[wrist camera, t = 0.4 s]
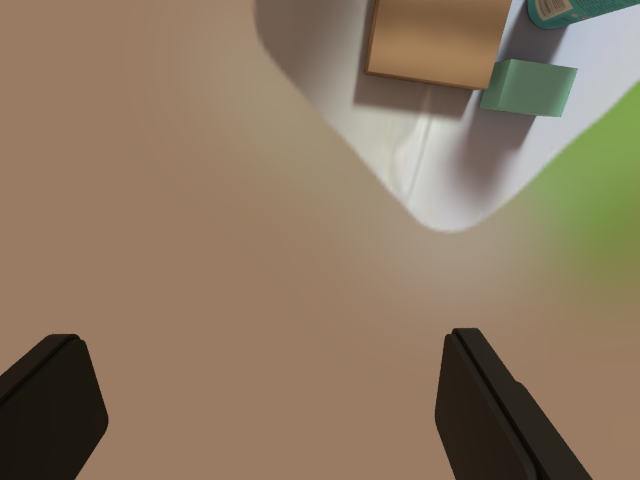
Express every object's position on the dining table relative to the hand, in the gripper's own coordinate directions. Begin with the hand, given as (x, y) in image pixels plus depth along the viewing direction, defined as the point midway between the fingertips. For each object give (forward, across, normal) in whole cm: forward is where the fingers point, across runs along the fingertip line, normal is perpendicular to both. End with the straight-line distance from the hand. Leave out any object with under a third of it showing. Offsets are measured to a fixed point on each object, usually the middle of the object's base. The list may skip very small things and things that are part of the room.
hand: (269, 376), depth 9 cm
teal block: (+31, -21, -8) cm, 38 cm away
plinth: (+30, -12, -14) cm, 36 cm away
